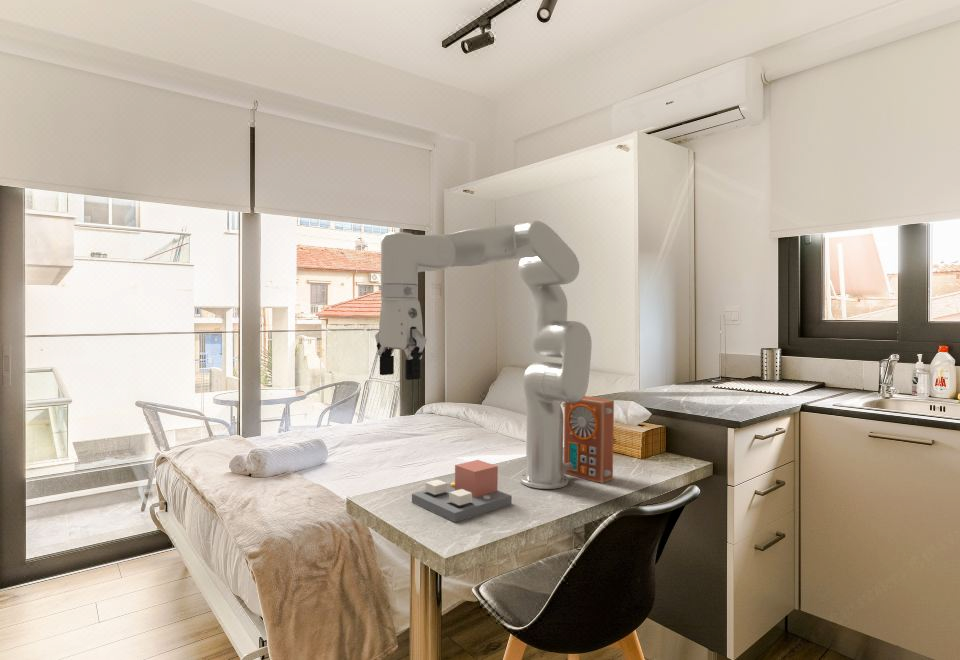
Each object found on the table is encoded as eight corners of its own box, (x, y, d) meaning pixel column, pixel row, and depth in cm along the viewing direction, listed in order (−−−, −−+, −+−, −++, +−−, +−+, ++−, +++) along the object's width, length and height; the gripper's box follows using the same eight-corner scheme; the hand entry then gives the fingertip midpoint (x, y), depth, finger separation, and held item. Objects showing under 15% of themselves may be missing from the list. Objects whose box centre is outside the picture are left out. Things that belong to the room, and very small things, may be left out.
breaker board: (467, 486, 139) (467, 476, 139) (511, 503, 127) (511, 492, 127) (411, 502, 128) (411, 491, 128) (454, 522, 116) (454, 510, 116)
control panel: (604, 485, 141) (558, 472, 152) (619, 479, 146) (573, 467, 157) (605, 403, 140) (559, 396, 151) (620, 400, 145) (573, 393, 156)
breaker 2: (461, 497, 124) (461, 488, 124) (472, 501, 121) (472, 492, 121) (449, 501, 121) (449, 492, 121) (459, 505, 119) (459, 496, 119)
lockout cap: (477, 483, 135) (477, 459, 135) (497, 491, 130) (497, 466, 130) (454, 489, 131) (455, 465, 130) (474, 497, 125) (474, 471, 125)
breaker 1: (437, 487, 131) (437, 479, 130) (447, 491, 128) (447, 483, 128) (425, 490, 128) (425, 482, 128) (434, 494, 125) (434, 486, 125)
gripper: (439, 293, 108) (439, 379, 109) (392, 294, 121) (392, 371, 121) (407, 292, 103) (407, 382, 104) (362, 294, 116) (362, 374, 117)
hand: (399, 376), depth 113 cm, fingers open, 9 cm apart
